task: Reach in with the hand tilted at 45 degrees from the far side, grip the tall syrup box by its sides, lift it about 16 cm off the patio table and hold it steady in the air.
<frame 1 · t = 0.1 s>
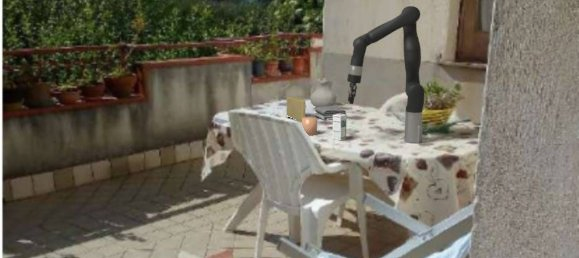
hand: (350, 102, 322), 22 cm above the table, tool pointing down, fingers open, 8 cm apart
cheese: (298, 120, 389), on the table
peach rounded cylinder: (309, 134, 345), on the table
towel: (330, 118, 398), on the table
syrup box: (339, 139, 332), on the table
ceramic pitcher: (322, 109, 431), on the table
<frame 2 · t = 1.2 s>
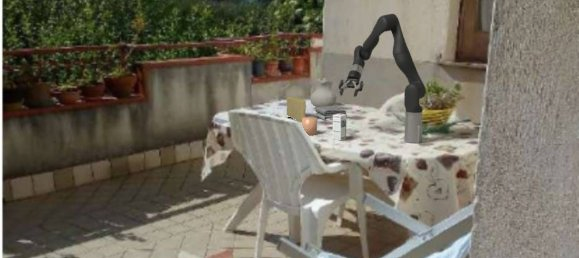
hand: (347, 95, 337), 24 cm above the table, tool tilted 45°, fingers open, 8 cm apart
nothing on the table moved.
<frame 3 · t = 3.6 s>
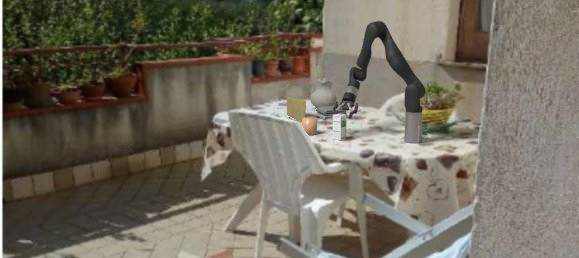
hand: (342, 117, 334), 12 cm above the table, tool tilted 45°, fingers open, 8 cm apart
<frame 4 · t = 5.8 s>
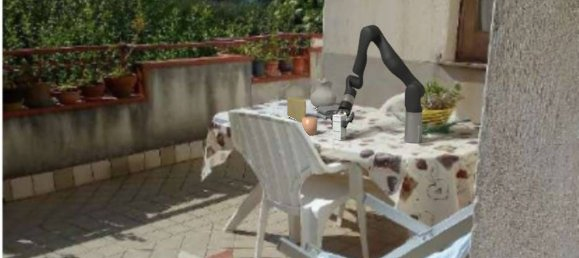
hand: (338, 126, 330), 7 cm above the table, tool tilted 45°, fingers closed on syrup box, 7 cm apart
syrup box: (339, 139, 332), on the table, touching gripper
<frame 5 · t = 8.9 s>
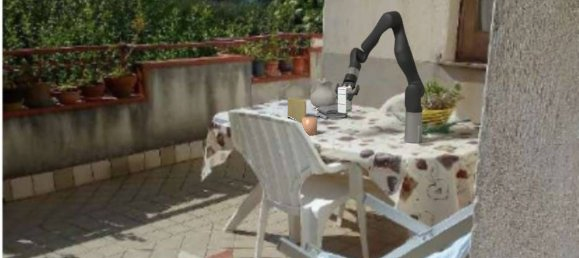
hand: (343, 99, 327), 23 cm above the table, tool tilted 45°, fingers closed on syrup box, 7 cm apart
syrup box: (344, 112, 330), point 15 cm above the table, touching gripper
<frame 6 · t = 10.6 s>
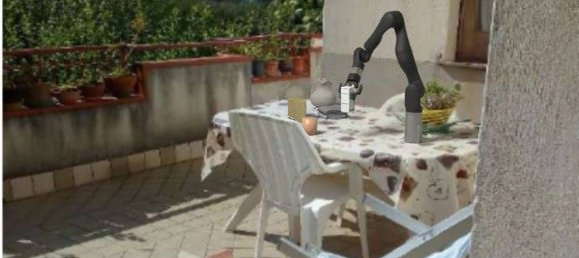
hand: (346, 99, 329), 23 cm above the table, tool tilted 45°, fingers closed on syrup box, 7 cm apart
syrup box: (347, 111, 331), point 16 cm above the table, touching gripper
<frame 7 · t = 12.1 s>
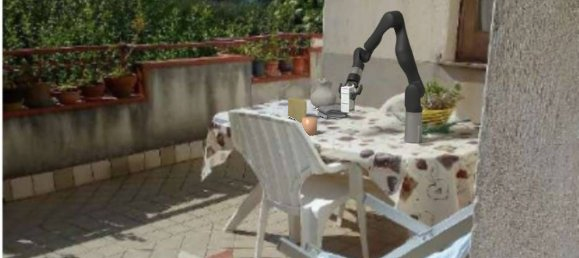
hand: (346, 99, 329), 23 cm above the table, tool tilted 45°, fingers closed on syrup box, 7 cm apart
syrup box: (347, 111, 331), point 16 cm above the table, touching gripper
at the end: the gripper is holding syrup box; syrup box point 15.6 cm above the table; syrup box tilted 0° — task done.
